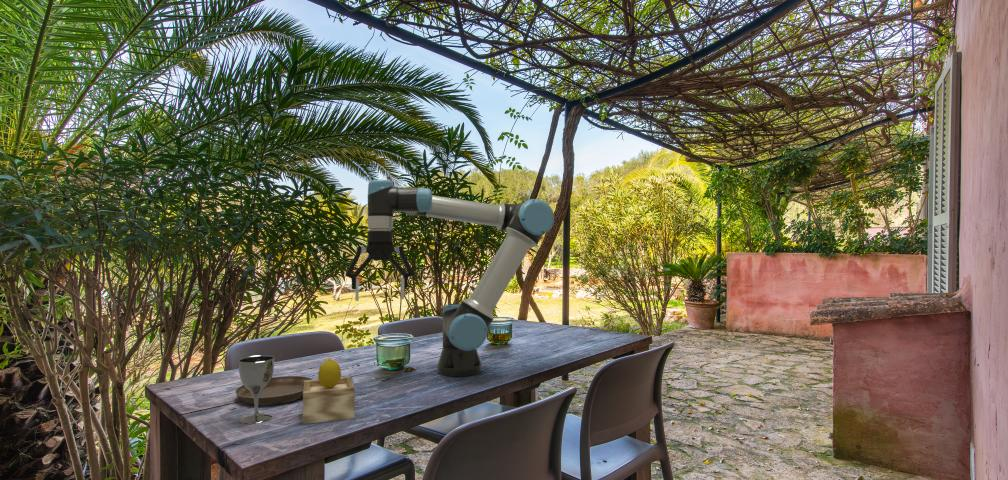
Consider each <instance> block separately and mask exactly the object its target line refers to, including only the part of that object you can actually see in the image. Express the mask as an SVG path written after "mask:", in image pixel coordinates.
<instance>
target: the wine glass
mask: <svg viewBox="0 0 1008 480" xmlns="http://www.w3.org/2000/svg"><path fill="white" fill-rule="evenodd" d="M274 369H275V356H274V355H269V354H266V355H265V354H261V355H260V354H259V355H251V356H246V357H242V358H240V359H238V373H239V378H240V382H241V385H244V386H245V387H246V388H247V389H248V390H249V391H250V392H251V393H252V395H253V397H254V404H255V405H254V413H253V414H250V415H247V416H245V417H242V418H243V419H242V418H241V419H240V420H241V421H240V420H239V422H240V423H241V422H243V423H247V424H246V425H255V423H256V424H261V422H262V423H265V422H267V421H270V420H271V419H272V418H273V415H272V414H268V413H259V405H258V403H259V396H260V394H261V392H262V390H263V389H264V388H265V387H266V386H267V384H268V383H269V382H270V380H271V378H273V374H274V371H275V370H274ZM243 423H242V424H243Z"/></svg>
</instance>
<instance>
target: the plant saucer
mask: <svg viewBox="0 0 1008 480" xmlns="http://www.w3.org/2000/svg"><path fill="white" fill-rule="evenodd" d="M305 380H314V379H313V378H312V377H311V378H310V377H307V376H299V375H287V376H284V375H283V376H274V377H273V376H272V378H271V380H270V382H269V383H268V384H267V386H266V387H265V388H264V389H263V390H262V392H261V394H260V396H259V403H258V406H272V405H280V404H281V405H282V404H286V403H290V402H293V401H297V400H300V399H301V398H303V389H304V381H305ZM235 395H236V396H237V397H238V399H240V401H242V402H244V403H245V404H248V405H253V406H255V404H254V397H253V395H252V393H251V392H250V391H249V390H248V389H247V388H246V387H245V386H244V385H243V384H241V386H239V387H237V388H236V389H235Z"/></svg>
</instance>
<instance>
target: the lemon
mask: <svg viewBox="0 0 1008 480" xmlns="http://www.w3.org/2000/svg"><path fill="white" fill-rule="evenodd" d="M317 375H318V376H317V379H319V382H320V384H321V385H322V386H323V387H326V388H327V389H332V388H333V387H334V386H336V385H337V384H338V383H339V381H340V378H341V377H342V370H341V366H340V364H339V363H338V362H337V361H335V360H334V359H332V358H328V359H327V360H325V361H324V362H322V363H321V364H320V366H319V369H318V374H317Z"/></svg>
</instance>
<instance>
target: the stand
mask: <svg viewBox="0 0 1008 480" xmlns="http://www.w3.org/2000/svg"><path fill="white" fill-rule="evenodd" d="M355 393H356V391H355V384H354V380H353V376H352V375H351V376H341V378H340V381H339V383H338V384H337V385H336V386H334V387H333V388H332V389H327V388H326V387H323V386H322V385H321V384H320V382H319V379H318V378H317V379H313V380H305V381H304V389H303V397H302V425H308V424H314V423H315V424H316V423H324V422H333V421H341V420H349V419H350V420H351V419H355V407H356V405H355V404H356V403H355V401H356V399H355Z"/></svg>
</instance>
